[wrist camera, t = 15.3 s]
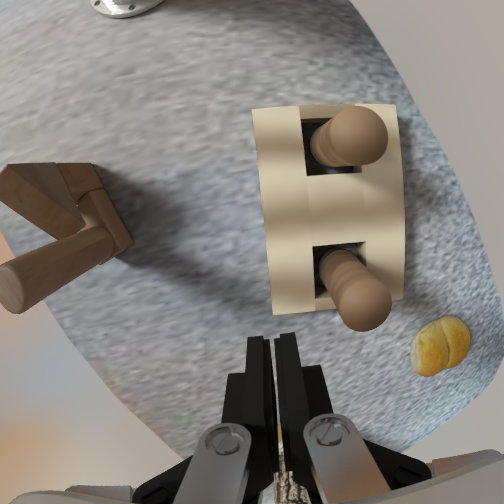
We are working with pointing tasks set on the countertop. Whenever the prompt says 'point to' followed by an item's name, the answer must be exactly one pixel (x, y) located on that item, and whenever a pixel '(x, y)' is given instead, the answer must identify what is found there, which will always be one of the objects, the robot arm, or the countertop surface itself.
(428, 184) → the countertop surface
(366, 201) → the socket board
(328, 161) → the seated peg
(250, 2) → the countertop surface
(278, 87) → the countertop surface
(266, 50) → the countertop surface
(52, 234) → the brown wooden angled piece
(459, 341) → the bread roll
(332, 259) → the walnut peg
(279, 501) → the paper tube
